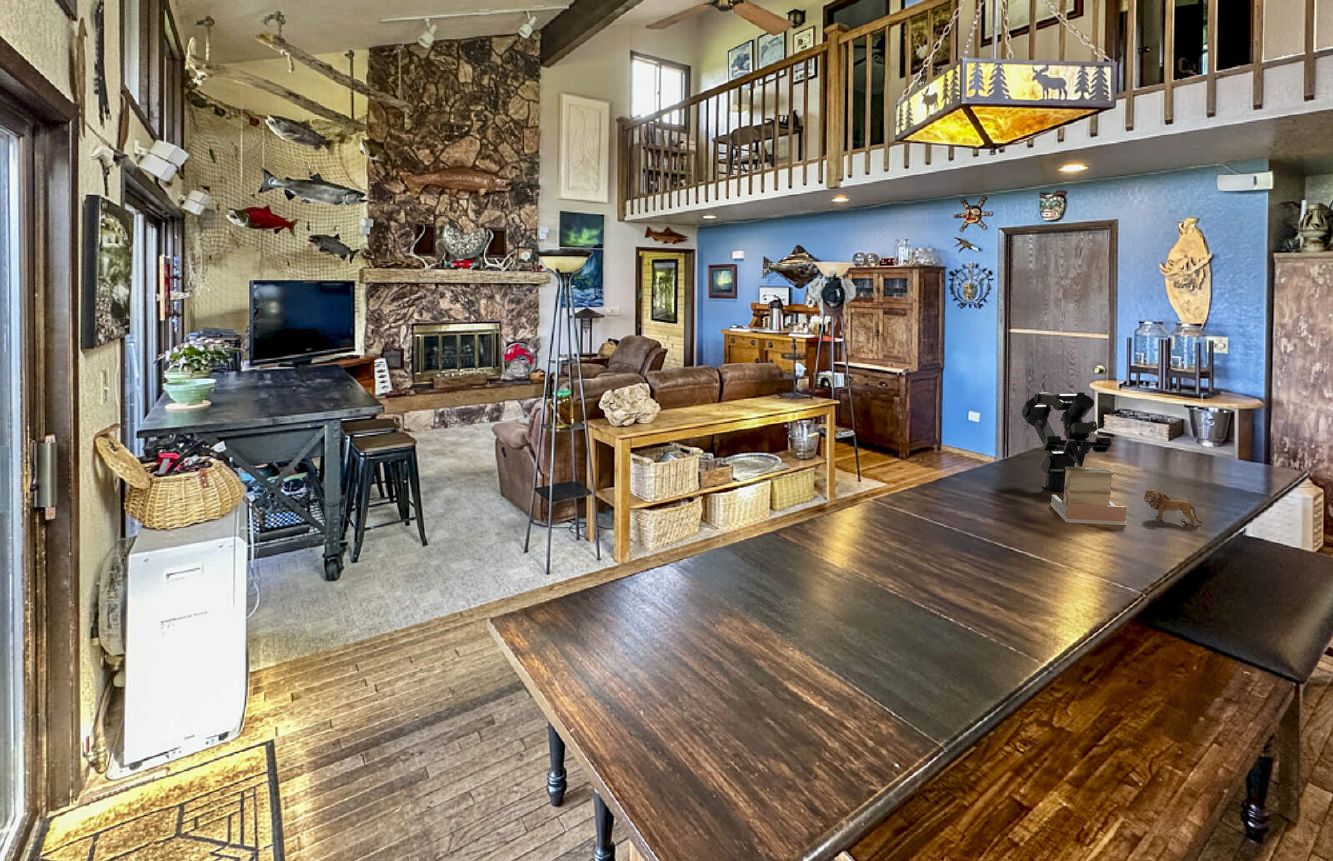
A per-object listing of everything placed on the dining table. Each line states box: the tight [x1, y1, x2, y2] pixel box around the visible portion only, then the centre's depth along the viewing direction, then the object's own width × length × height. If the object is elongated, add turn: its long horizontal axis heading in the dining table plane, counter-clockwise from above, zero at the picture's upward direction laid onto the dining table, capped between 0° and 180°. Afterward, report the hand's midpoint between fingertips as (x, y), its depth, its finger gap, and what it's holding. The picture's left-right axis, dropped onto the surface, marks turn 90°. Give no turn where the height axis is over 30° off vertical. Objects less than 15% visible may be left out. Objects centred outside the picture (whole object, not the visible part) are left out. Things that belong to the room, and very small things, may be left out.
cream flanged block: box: [1063, 466, 1114, 505], centre depth 216 cm, size 6×11×13 cm, turn 75°
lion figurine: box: [1143, 488, 1203, 526], centre depth 207 cm, size 15×5×9 cm, turn 51°
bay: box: [1050, 494, 1128, 526], centre depth 216 cm, size 19×16×6 cm
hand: (1080, 466), depth 222 cm, fingers closed
